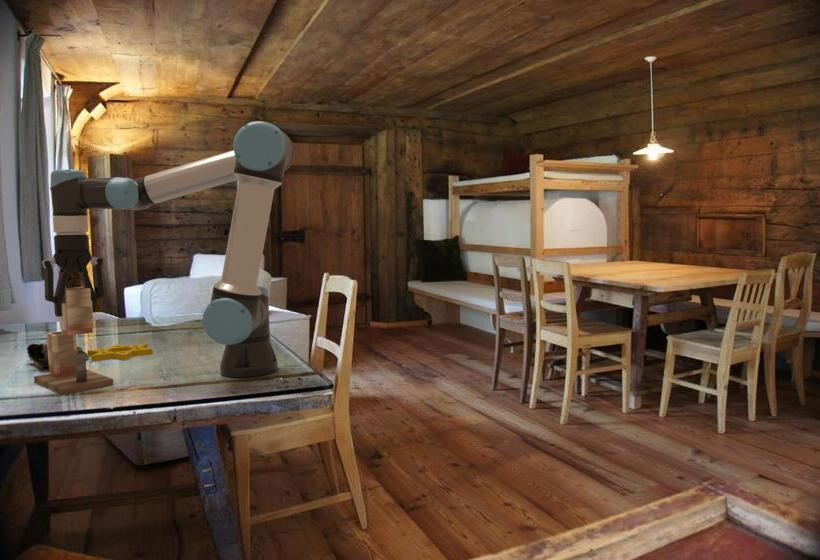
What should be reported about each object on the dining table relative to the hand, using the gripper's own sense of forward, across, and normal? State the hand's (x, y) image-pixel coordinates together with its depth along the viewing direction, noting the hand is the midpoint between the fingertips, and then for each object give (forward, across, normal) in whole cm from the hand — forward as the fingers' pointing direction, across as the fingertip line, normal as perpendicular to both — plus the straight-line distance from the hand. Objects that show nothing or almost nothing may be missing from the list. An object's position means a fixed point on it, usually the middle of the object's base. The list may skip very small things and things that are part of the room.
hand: (77, 327), depth 157 cm
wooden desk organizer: (+15, 0, -6) cm, 16 cm away
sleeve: (+1, 0, 0) cm, 1 cm away
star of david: (+16, -24, -33) cm, 43 cm away
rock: (+16, -7, -34) cm, 38 cm away
